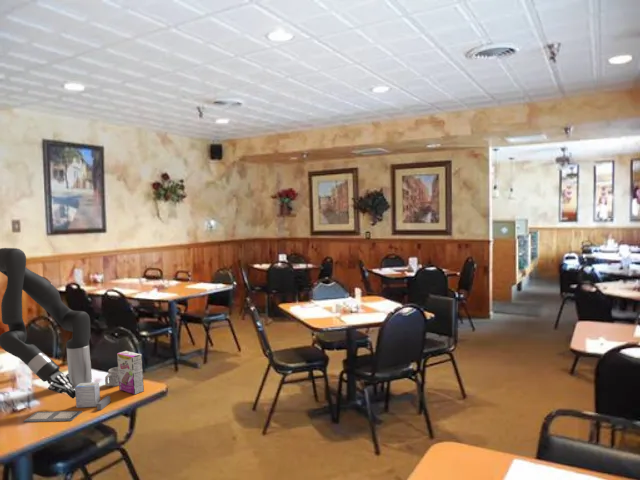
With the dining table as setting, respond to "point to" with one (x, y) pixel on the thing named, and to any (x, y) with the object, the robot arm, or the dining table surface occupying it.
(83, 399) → the grey upright block
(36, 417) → the plate
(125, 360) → the candy bar box
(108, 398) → the rubber stop
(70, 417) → the plate
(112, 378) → the mug
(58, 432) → the dining table surface
